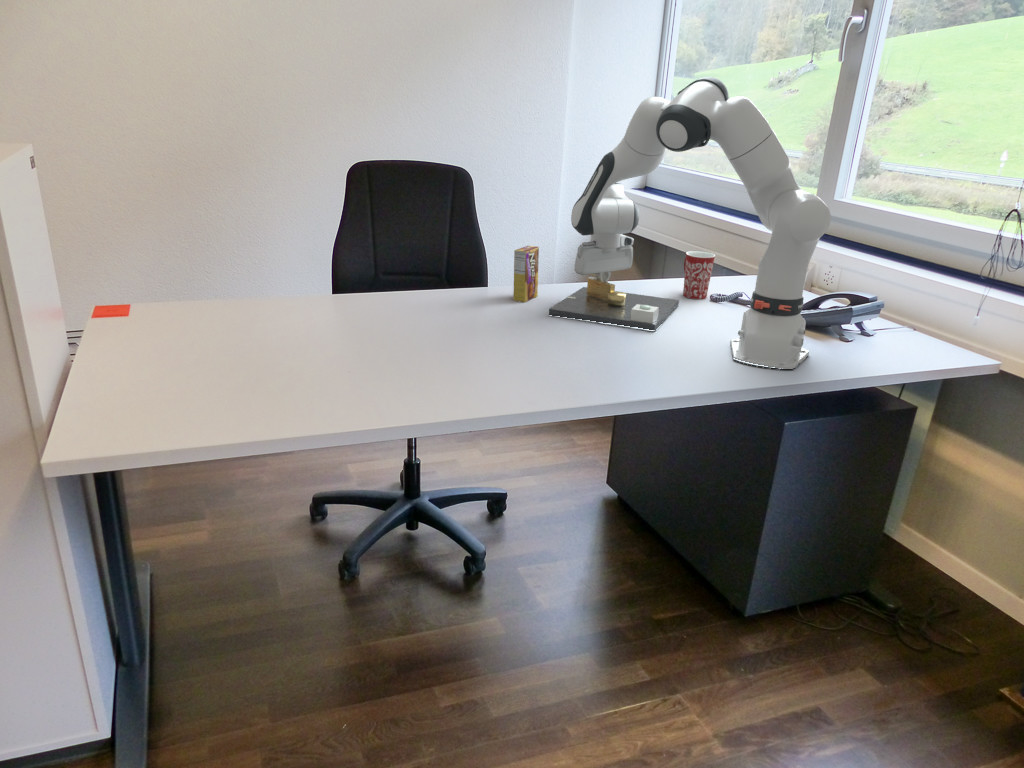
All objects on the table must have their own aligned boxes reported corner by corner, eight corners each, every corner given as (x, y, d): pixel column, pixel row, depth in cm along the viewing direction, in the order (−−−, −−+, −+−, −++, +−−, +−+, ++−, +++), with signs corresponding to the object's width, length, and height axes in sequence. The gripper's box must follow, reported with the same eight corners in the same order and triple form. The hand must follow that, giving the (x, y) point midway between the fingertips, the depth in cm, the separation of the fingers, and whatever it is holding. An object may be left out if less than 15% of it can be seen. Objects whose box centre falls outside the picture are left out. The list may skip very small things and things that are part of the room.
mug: (714, 299, 231) (720, 256, 226) (688, 300, 229) (693, 257, 224) (696, 289, 243) (702, 248, 238) (671, 290, 241) (675, 249, 236)
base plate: (654, 332, 196) (656, 311, 194) (548, 315, 207) (549, 296, 205) (678, 306, 222) (680, 288, 220) (583, 293, 233) (584, 275, 231)
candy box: (525, 294, 228) (527, 245, 223) (537, 296, 226) (540, 246, 221) (511, 300, 221) (513, 249, 215) (524, 302, 219) (527, 251, 213)
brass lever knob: (628, 304, 213) (630, 286, 211) (616, 306, 210) (617, 288, 208) (594, 293, 224) (596, 276, 222) (582, 295, 221) (583, 277, 219)
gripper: (586, 244, 207) (582, 292, 212) (638, 238, 219) (633, 284, 224) (571, 240, 212) (568, 288, 217) (623, 235, 223) (619, 280, 228)
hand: (602, 286), depth 220 cm, fingers closed
